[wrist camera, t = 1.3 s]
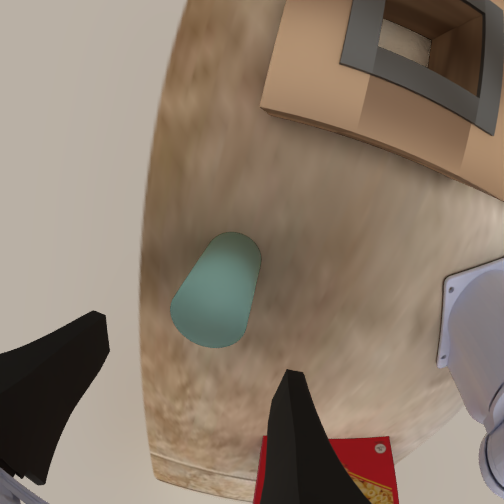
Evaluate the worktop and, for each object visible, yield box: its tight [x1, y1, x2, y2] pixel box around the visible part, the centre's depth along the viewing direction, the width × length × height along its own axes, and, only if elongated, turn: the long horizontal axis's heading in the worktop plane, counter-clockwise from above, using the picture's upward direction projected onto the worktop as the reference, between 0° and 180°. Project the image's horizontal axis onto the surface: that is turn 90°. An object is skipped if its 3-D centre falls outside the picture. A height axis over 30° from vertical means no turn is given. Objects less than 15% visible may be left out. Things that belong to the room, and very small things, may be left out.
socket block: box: [260, 0, 504, 202], centre depth 9 cm, size 12×12×6 cm
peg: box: [170, 232, 261, 348], centre depth 16 cm, size 4×4×6 cm
